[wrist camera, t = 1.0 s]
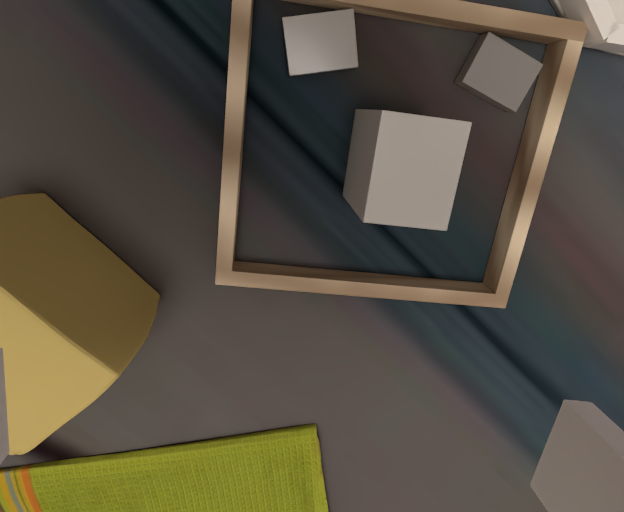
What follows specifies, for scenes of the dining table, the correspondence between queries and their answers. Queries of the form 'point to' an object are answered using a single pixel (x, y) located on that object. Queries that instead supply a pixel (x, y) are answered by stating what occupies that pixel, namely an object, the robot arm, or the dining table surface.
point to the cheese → (62, 317)
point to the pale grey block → (404, 168)
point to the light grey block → (320, 42)
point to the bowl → (597, 22)
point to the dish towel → (180, 478)
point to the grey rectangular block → (498, 72)
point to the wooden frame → (523, 184)
